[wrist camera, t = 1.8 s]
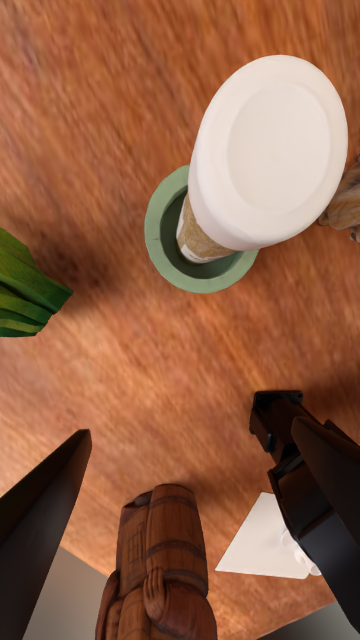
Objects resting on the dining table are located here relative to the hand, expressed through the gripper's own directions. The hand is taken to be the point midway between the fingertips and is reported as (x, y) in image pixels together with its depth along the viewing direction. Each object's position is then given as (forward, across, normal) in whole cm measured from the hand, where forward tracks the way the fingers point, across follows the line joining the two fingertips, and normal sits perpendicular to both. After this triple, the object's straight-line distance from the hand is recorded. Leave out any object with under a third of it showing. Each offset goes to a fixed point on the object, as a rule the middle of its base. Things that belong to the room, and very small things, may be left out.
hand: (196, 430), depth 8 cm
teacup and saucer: (+13, -20, +40) cm, 46 cm away
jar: (+13, -2, -10) cm, 16 cm away
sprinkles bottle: (+13, -2, -10) cm, 16 cm away
